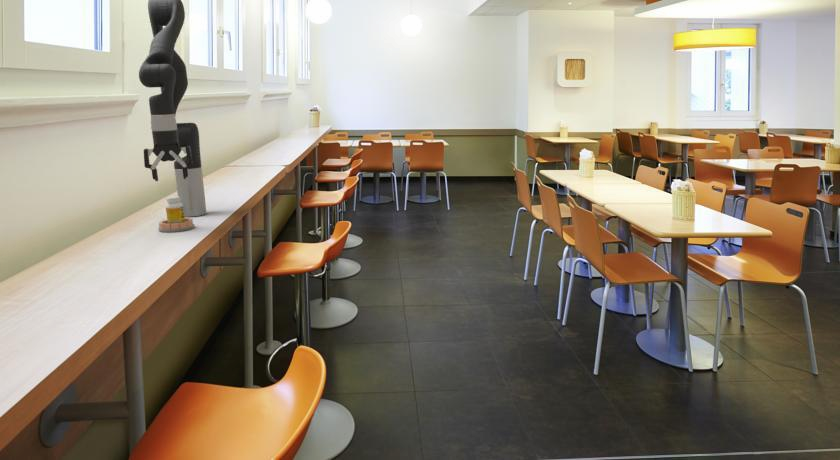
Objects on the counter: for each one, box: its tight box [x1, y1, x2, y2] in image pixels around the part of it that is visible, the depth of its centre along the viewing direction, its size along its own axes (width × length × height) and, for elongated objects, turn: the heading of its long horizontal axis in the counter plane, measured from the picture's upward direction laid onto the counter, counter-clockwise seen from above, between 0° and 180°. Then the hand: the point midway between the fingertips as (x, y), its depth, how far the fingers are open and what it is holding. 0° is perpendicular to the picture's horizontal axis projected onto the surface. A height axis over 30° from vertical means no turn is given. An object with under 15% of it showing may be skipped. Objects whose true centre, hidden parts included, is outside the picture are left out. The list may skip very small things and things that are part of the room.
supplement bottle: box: [165, 196, 186, 224], centre depth 204 cm, size 5×5×10 cm
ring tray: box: [158, 217, 195, 234], centre depth 205 cm, size 11×11×3 cm
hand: (170, 179), depth 201 cm, fingers open, 8 cm apart
